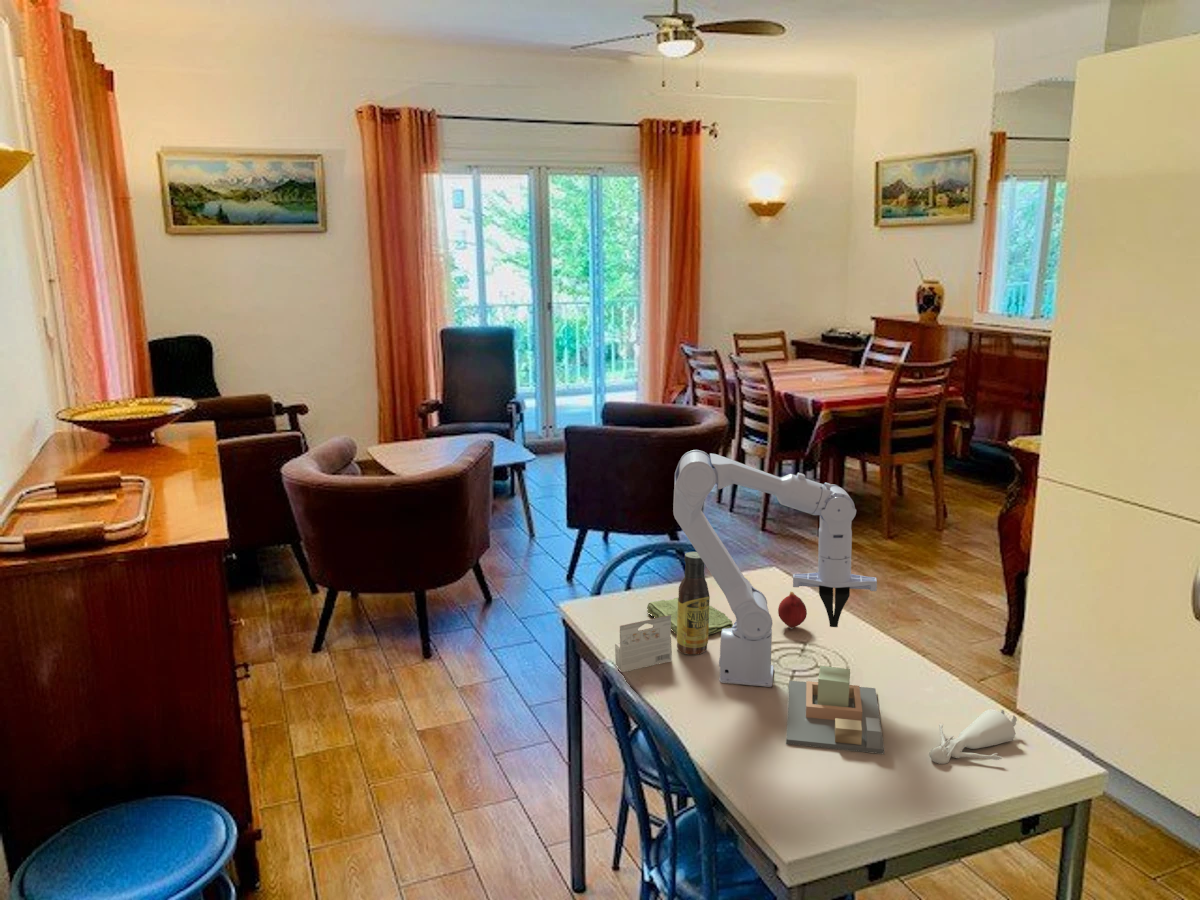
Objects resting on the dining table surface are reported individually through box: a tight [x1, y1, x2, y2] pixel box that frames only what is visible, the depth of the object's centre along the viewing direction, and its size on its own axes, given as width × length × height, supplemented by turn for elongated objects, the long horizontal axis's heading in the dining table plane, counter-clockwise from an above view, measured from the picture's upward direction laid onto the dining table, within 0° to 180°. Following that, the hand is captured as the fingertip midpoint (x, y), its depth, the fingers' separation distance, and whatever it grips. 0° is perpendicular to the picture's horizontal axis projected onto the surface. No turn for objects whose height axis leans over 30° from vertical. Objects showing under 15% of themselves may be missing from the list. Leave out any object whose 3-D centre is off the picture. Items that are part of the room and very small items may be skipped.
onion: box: [777, 590, 808, 629], centre depth 182 cm, size 6×6×8 cm
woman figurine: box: [929, 708, 1018, 765], centre depth 138 cm, size 12×4×18 cm
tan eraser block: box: [835, 718, 862, 745], centre depth 139 cm, size 4×3×2 cm
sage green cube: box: [817, 665, 851, 707], centre depth 149 cm, size 5×5×6 cm
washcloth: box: [646, 597, 734, 636], centre depth 187 cm, size 13×18×3 cm
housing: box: [785, 680, 885, 755], centre depth 147 cm, size 15×20×4 cm
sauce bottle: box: [676, 551, 711, 656], centre depth 172 cm, size 7×6×20 cm
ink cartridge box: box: [614, 615, 673, 673], centre depth 167 cm, size 2×11×10 cm, turn 113°
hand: (833, 624), depth 159 cm, fingers closed
